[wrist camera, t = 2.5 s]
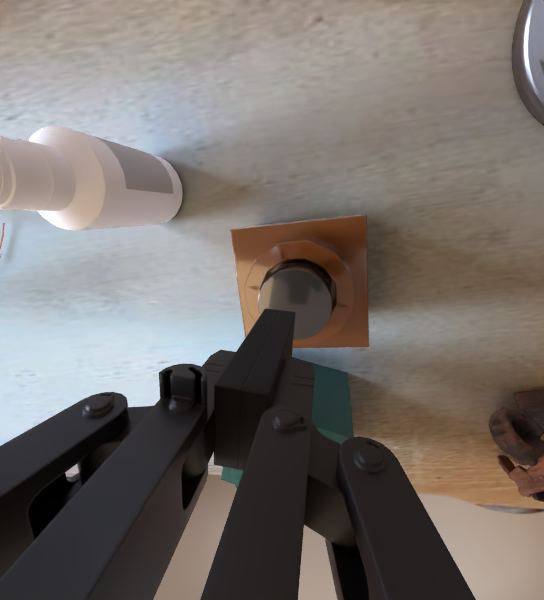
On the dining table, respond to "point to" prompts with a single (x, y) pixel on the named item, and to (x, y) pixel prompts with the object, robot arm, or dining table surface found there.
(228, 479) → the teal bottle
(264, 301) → the dark gray button
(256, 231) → the brown push button box
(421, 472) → the dining table surface
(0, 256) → the figurine
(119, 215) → the white bottle
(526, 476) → the brown jagged looped figure
